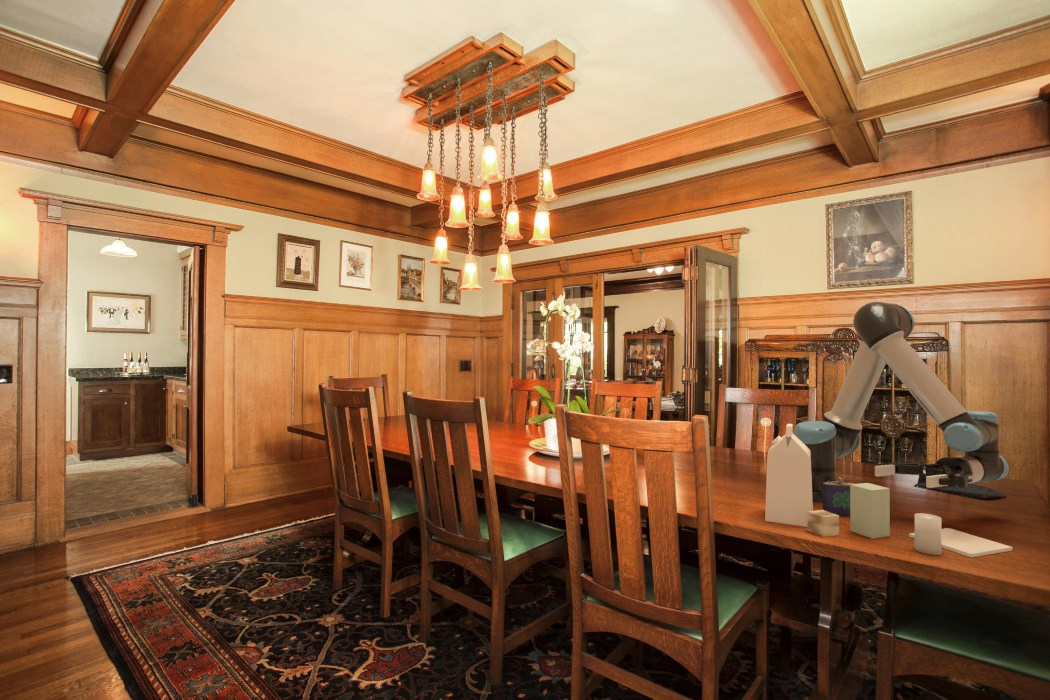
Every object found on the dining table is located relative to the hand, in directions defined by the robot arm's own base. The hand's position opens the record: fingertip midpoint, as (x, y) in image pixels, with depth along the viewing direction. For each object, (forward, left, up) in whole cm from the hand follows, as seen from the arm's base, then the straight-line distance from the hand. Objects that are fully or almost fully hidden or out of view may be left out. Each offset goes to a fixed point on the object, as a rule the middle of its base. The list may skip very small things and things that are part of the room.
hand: (900, 476), depth 137 cm
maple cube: (-5, -21, -14) cm, 26 cm away
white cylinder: (+12, -8, -14) cm, 20 cm away
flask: (-15, -4, -14) cm, 21 cm away
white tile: (+11, +4, -14) cm, 18 cm away
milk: (-17, -20, -14) cm, 30 cm away
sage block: (-1, -10, -14) cm, 17 cm away
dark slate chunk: (-22, +57, -15) cm, 63 cm away
